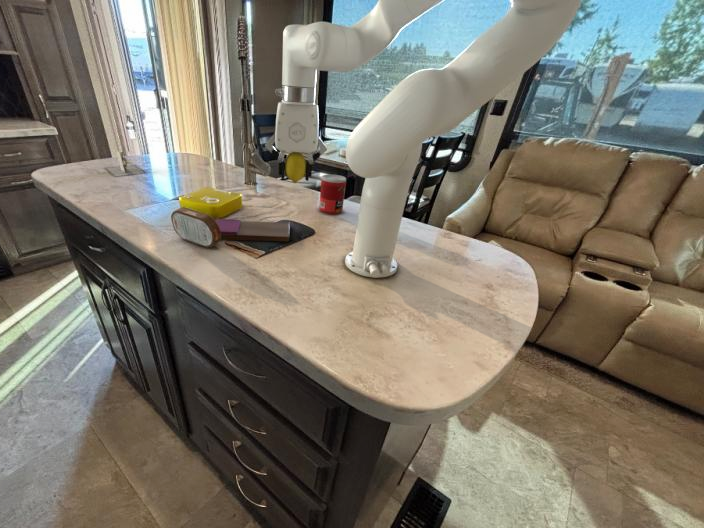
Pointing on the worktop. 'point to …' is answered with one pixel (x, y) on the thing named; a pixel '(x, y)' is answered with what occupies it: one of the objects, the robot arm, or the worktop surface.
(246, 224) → the serving board
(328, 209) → the canned food
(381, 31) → the robot arm
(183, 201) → the element tile
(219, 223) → the plum cloth
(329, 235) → the worktop surface
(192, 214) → the tin
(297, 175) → the lemon
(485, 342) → the worktop surface
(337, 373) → the worktop surface
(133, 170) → the architectural model
